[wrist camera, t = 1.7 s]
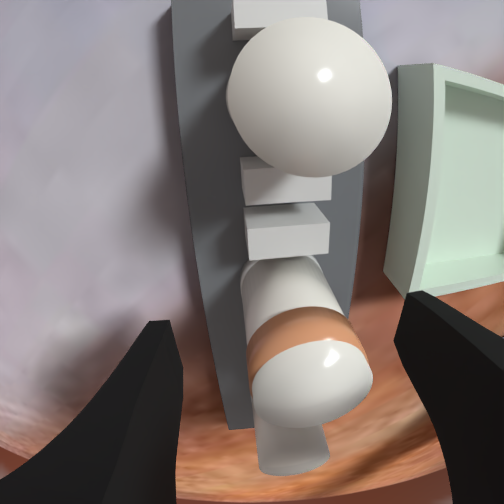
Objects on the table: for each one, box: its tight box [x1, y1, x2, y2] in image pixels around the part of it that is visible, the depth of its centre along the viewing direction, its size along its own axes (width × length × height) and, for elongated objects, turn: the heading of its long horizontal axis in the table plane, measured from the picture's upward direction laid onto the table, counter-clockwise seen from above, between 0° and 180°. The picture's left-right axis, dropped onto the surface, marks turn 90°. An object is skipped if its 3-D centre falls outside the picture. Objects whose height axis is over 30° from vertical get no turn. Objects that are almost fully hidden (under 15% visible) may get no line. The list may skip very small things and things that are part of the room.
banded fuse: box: [240, 255, 373, 428], centre depth 9 cm, size 3×3×6 cm
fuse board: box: [171, 0, 364, 430], centre depth 12 cm, size 21×6×3 cm, turn 3°
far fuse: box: [250, 394, 330, 476], centre depth 13 cm, size 3×3×4 cm
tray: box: [383, 63, 504, 299], centre depth 11 cm, size 9×9×2 cm
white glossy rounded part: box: [226, 17, 392, 178], centre depth 7 cm, size 3×3×4 cm
